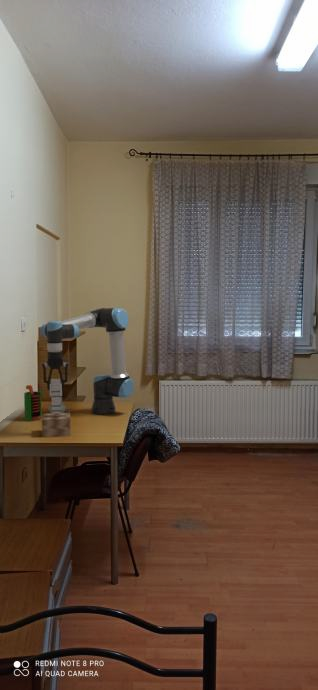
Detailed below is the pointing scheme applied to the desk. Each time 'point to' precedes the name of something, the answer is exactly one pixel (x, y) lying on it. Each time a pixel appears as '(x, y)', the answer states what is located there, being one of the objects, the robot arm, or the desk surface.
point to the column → (55, 397)
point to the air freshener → (63, 407)
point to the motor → (32, 404)
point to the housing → (56, 425)
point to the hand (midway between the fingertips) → (55, 395)
